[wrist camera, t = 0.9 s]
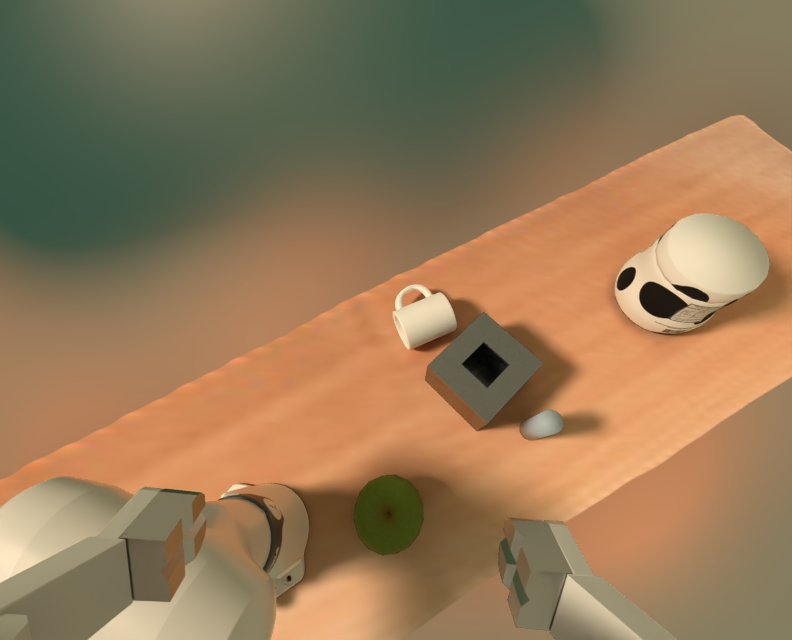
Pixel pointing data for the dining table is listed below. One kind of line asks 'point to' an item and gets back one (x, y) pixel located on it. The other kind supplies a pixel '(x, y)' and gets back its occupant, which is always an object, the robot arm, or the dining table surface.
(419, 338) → the mug
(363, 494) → the apple
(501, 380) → the grey square box
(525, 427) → the grey rounded cylinder
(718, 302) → the milk container
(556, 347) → the dining table surface
